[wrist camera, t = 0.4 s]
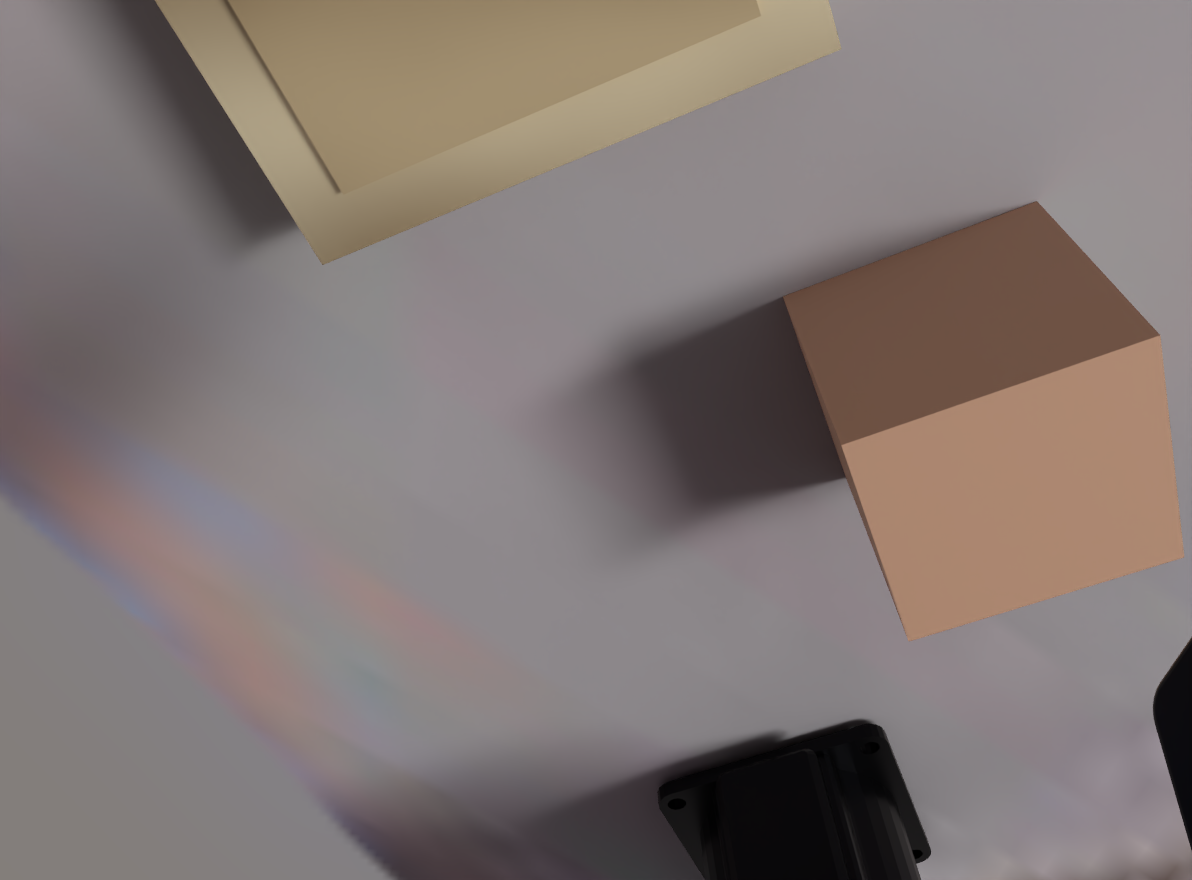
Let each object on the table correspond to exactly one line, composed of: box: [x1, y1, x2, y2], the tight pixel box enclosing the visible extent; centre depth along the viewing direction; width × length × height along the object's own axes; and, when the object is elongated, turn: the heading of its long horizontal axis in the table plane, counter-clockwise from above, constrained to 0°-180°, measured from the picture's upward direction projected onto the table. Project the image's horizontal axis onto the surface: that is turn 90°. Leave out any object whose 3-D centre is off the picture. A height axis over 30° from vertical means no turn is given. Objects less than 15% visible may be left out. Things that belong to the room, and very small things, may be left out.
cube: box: [783, 201, 1184, 641], centre depth 20 cm, size 5×5×5 cm
